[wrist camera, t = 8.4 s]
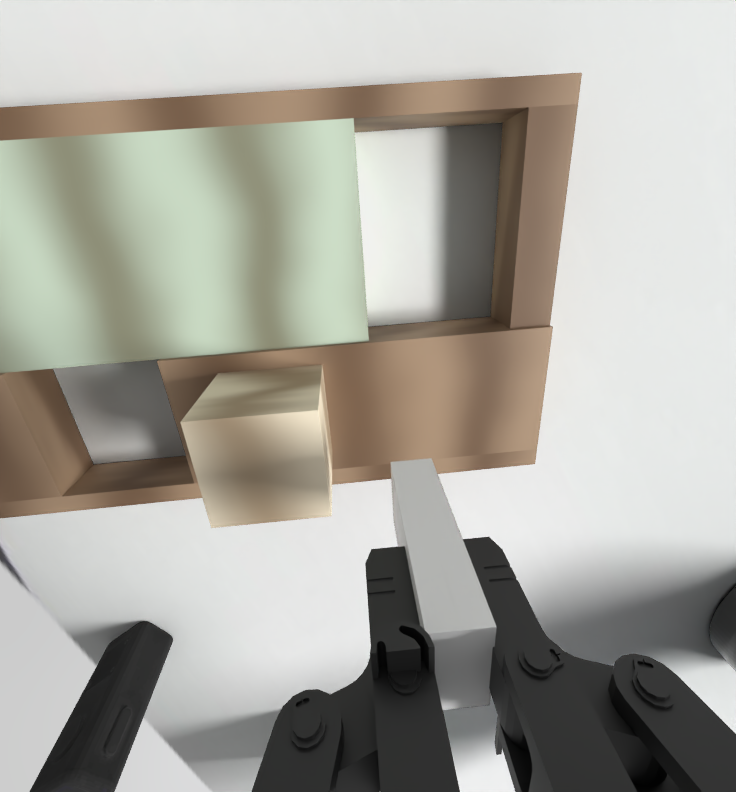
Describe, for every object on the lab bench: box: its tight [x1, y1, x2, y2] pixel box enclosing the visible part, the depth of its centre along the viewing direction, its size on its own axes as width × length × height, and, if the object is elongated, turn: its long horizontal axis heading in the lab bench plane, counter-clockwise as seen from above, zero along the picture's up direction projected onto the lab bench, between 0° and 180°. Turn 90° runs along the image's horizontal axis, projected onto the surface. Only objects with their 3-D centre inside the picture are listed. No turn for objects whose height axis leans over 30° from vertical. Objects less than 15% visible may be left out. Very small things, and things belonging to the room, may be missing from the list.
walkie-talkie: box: [30, 622, 173, 792], centre depth 23 cm, size 5×3×15 cm
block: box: [180, 365, 332, 528], centre depth 18 cm, size 5×5×5 cm
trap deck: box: [0, 73, 582, 518], centre depth 19 cm, size 30×18×3 cm, turn 93°
